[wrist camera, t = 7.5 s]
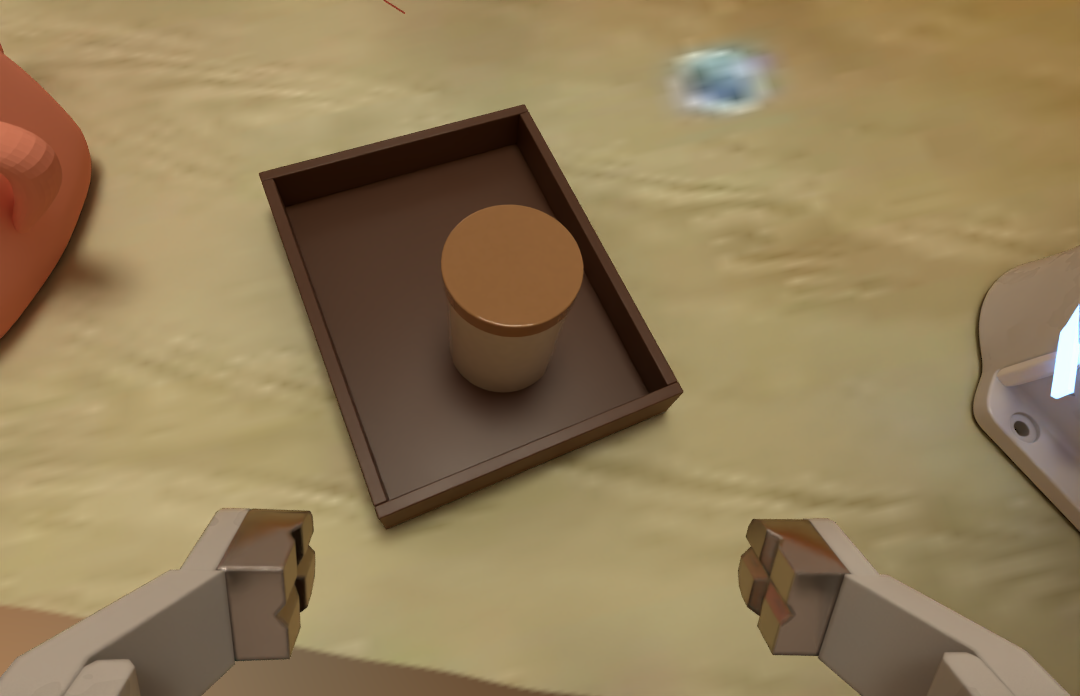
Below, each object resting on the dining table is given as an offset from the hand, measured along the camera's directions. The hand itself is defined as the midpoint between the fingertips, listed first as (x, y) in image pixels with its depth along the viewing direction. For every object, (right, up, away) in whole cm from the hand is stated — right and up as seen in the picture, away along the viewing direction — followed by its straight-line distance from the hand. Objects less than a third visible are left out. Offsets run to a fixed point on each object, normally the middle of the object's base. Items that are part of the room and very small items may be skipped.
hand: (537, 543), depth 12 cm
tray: (-4, +6, +23) cm, 24 cm away
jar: (-2, +4, +22) cm, 22 cm away
